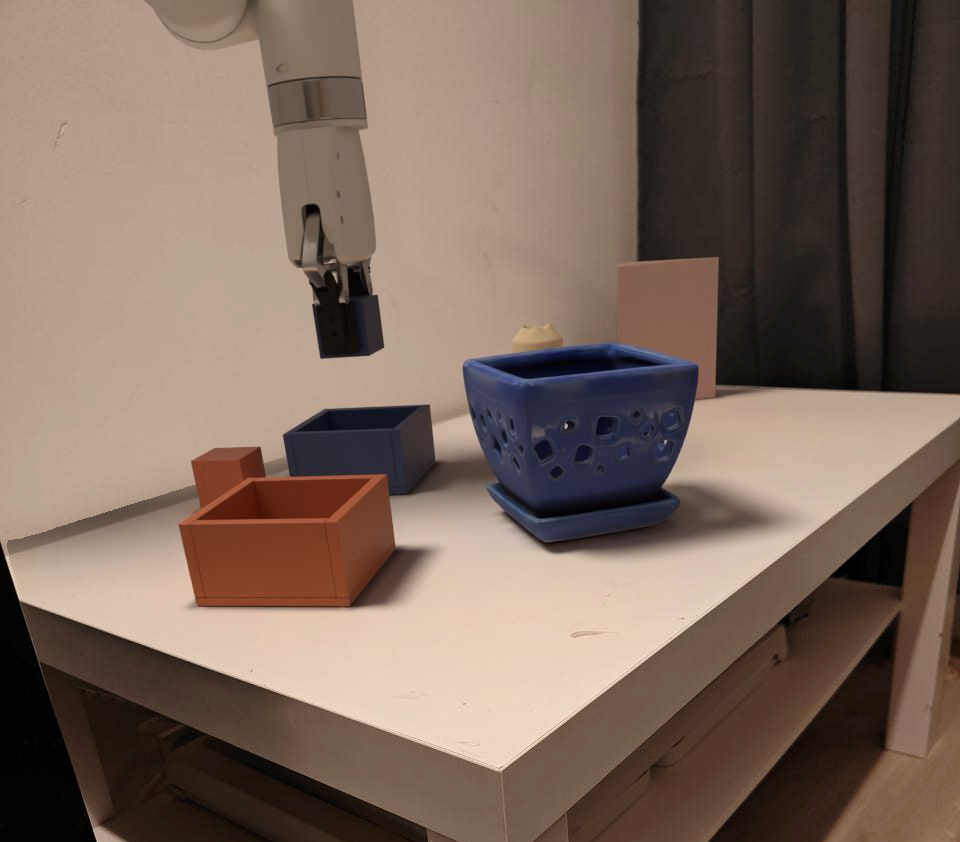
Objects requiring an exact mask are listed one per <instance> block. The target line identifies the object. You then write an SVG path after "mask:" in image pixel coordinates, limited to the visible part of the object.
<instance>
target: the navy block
mask: <svg viewBox="0 0 960 842" xmlns="http://www.w3.org/2000/svg"><path fill="white" fill-rule="evenodd" d="M349 303H354V307H355V314H356V322H357V329H358V337H359V344H360V351H359V352H358V353H356V354H344V355H325V354H324V353H323V351H322V344H321V338H320V331H319V324H318V318H317V311H316V306H315V305H314V303H312V304H311V308H312V313H313V321H314V326H315V332H316V333H315V334H316V340H317V346H318V347H317V348H318V353H319V358H320V359H321V360H324V359H326V360H327V359H339V358H341V359H342V358H356V357H357V358H358V357H370V356H372V355H373V354H375V353H377V352H380V351H381V350H383V349H384V348H385V341H384V332H383V325H382V317H381V308H380V301H379V295H378V294H372V295H367V296H354V297H349Z"/></svg>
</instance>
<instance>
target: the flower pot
mask: <svg viewBox="0 0 960 842" xmlns="http://www.w3.org/2000/svg"><path fill="white" fill-rule="evenodd" d="M698 376H699V367H698V365H697V364H696V363H694V362H691V361H688V360H685V359H681V358H678V357H675V356H671V355H667V354H664V353H660V352H656V351H652V350H648V349H644V348H640V347H636V346H632V345H627V344H621V343H619V342H604V343H593V344H579V345H577V344H576V345H569V346H563V347H560V348H551V349H543V350H535V351H527V352H520V353H513V352H512V353H506V354H498V355H497V354H496V355H490V356H483V357H477V358H469V359H466V360H465V361H464V362H463V364H462V378H463V384H464V391H465V396H466V400H467V401H466V402H467V405H468V410H469V415H470V419H471V422H472V425H473V429H474V432H475V434H476V438H477V441H478V443H479V446H480V448H481V450H482V453H483V455H484V458H485V459H486V462H487V464H488V466H489V468H490V469H491V472H492V473H493V475H494V477H495V478H496V480H497V482H489V483H487V484H486V486H485V488H486V491H487V493H488V495H489V496H490V497H491V498H492V500H493V501H494V503H496V504H497V505H498V506H499V507H500V508H501V509H502V510H503V511H504V512H506V514H508V515H509V516H510V517H512V519H514V521H516V522H517V523H519V524H520V525H521V526H522V527H523V528H524V529H526V530H527V531H528V532H529V533H531V534H532V535H533V536H534V537H536V538H537V539H538V540H540V541H541V542H543V543H545V544H550V543H555V542H561V541H568V540H575V539H582V538H589V537H594V536H595V537H596V536H600V535H601V536H602V535H607V534H612V533H617V532H618V533H619V532H625V531H630V530H635V529H641V528H650V527H652V526H656V525H659V524H662V523H663V522H665V521H666V520H668V519H669V518H670V517H672V515H673V514H674V513H675V512H676V511H677V510H678V509H679V507H680V505H681V503H682V500H681V498H680V497H679V496H678V495H676V494H674V493H673V492H671V491H669V490H667V489H665V488H663V486H664V484H665V483H666V481H667V480H668V478H669V476H670V474H671V473H672V471H673V469H674V467H675V465H676V462H677V460H678V459H679V456H680V453H681V451H682V448H683V445H684V443H685V440H686V437H687V435H688V431H689V427H690V424H691V420H692V417H693V411H694V408H695V407H694V406H695V403H696V399H695V397H696V391H697V385H698ZM665 441H666V442H665Z"/></svg>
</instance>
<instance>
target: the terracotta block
mask: <svg viewBox="0 0 960 842" xmlns="http://www.w3.org/2000/svg"><path fill="white" fill-rule="evenodd" d="M190 464H191V465H190V466H191V469H192V473H193V478H194V484H195V489H196V493H197V497H198V501H199V507H200V510H201V509H202V508H204V507H205V506H207V505H208V504H210V503H211V502H213V501H214V500H216V499H217V498H219V497H220V496H222V495H223V494H225V493H226V492H228V491H229V490H231V489H232V488H234V487H235V486H237V485H238V484H240V483H241V482H243V481H244V480H246V479H247V478H266V477H267V475H266V469H265V465H264V459H263V453H262V447H261V446H239V447H238V446H235V447H234V446H233V447H213V448H212V449H210V450H208V451H206V452H204V453H203V454H201V455H199V456H198V457H196V458H194V459H192V460H191V461H190Z"/></svg>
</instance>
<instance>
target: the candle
mask: <svg viewBox="0 0 960 842" xmlns="http://www.w3.org/2000/svg"><path fill="white" fill-rule="evenodd" d="M511 344H512V345H511V346H512V347H511V348H512V353H520V352H527V351H535V350H543V349H551V348H560V347H564V337H563V336H562V335H561V333H559V332H558V330H557V329H556V328H555V327H554V326H553V324H552V323H547V324H544V326H526V325H525V324H524V325H522V326H521V328H520V329H519V331H518V332H517V333H516V335H515V336H514V337H513V339H512V341H511Z"/></svg>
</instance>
